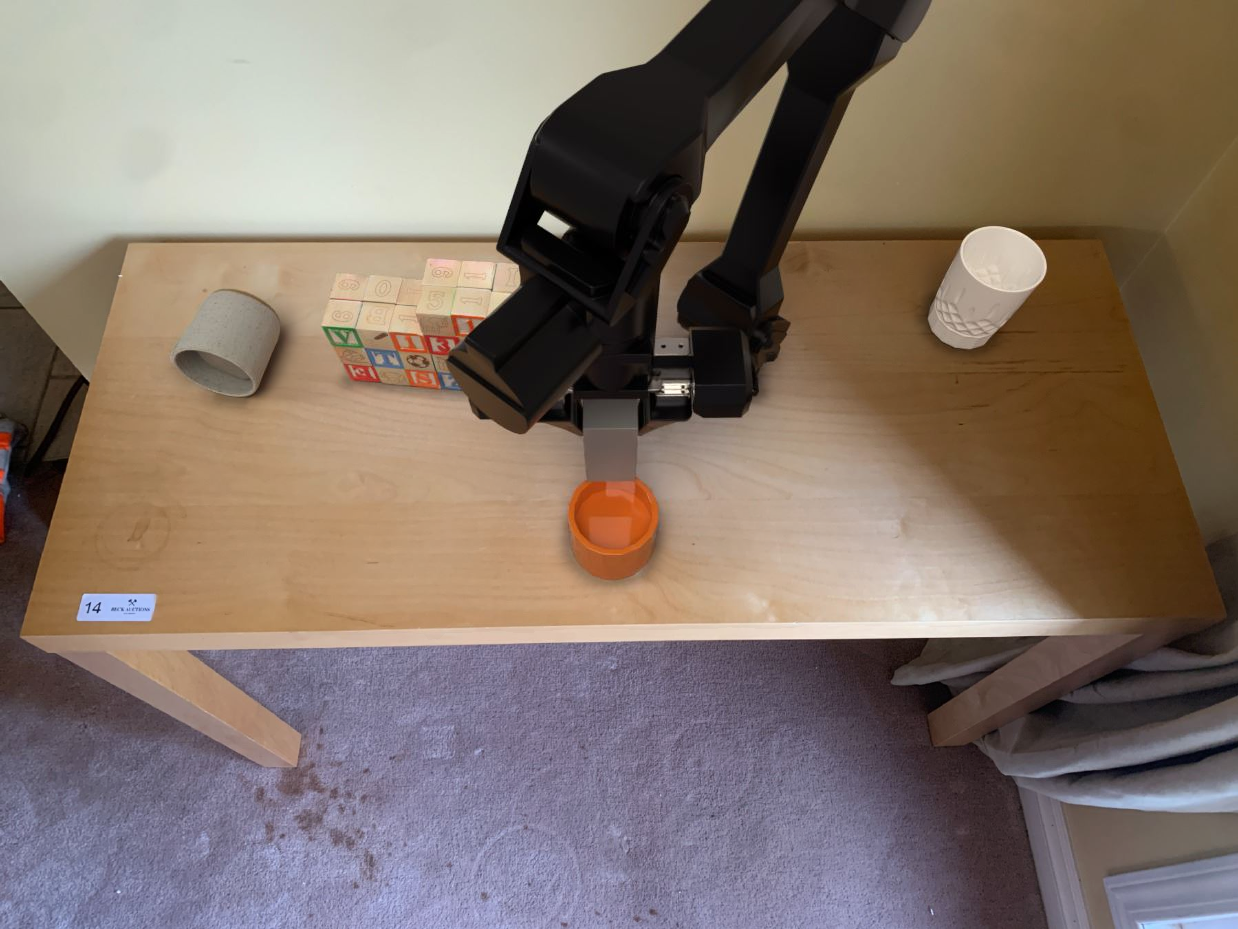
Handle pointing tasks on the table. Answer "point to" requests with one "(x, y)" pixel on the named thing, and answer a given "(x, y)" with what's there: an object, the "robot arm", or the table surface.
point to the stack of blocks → (412, 319)
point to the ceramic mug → (228, 343)
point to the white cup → (985, 285)
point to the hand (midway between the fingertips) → (610, 430)
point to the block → (610, 439)
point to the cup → (613, 527)
